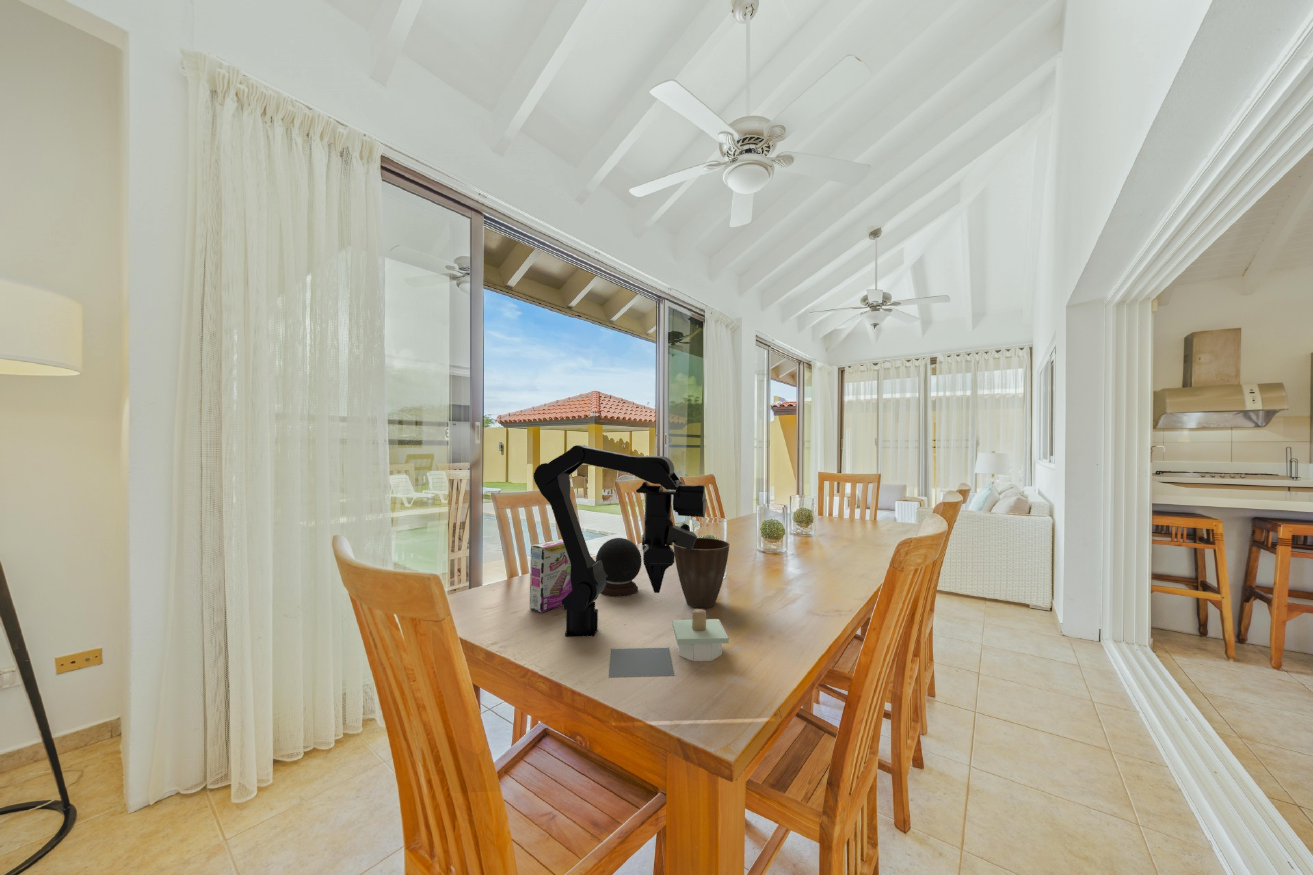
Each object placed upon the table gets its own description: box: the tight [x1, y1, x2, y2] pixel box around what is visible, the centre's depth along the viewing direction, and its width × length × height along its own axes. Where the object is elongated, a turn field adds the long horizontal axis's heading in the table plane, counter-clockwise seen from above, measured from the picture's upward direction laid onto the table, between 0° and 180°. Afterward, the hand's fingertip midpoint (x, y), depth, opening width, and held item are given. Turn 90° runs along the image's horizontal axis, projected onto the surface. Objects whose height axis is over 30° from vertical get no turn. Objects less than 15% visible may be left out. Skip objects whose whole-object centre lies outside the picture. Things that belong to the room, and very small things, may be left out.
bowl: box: [676, 643, 723, 662], centre depth 100 cm, size 9×9×4 cm
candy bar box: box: [529, 538, 572, 614], centre depth 128 cm, size 11×5×16 cm, turn 144°
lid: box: [671, 608, 730, 645], centre depth 100 cm, size 10×10×4 cm
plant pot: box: [672, 537, 730, 609], centre depth 130 cm, size 15×15×16 cm
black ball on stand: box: [595, 537, 643, 598], centre depth 141 cm, size 13×13×15 cm
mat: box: [608, 647, 676, 679], centre depth 95 cm, size 12×12×1 cm
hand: (655, 585), depth 107 cm, fingers open, 9 cm apart
